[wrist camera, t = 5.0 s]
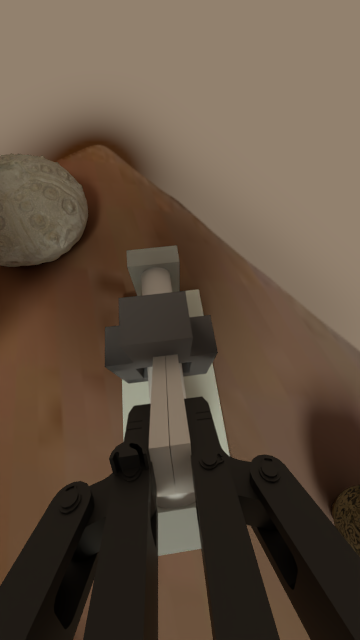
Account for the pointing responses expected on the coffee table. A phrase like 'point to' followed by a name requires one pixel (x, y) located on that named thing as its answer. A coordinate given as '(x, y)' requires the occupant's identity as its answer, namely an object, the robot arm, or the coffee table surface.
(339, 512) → the cup
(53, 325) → the coffee table surface
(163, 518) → the pipe stand
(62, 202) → the grey stone
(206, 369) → the collar
